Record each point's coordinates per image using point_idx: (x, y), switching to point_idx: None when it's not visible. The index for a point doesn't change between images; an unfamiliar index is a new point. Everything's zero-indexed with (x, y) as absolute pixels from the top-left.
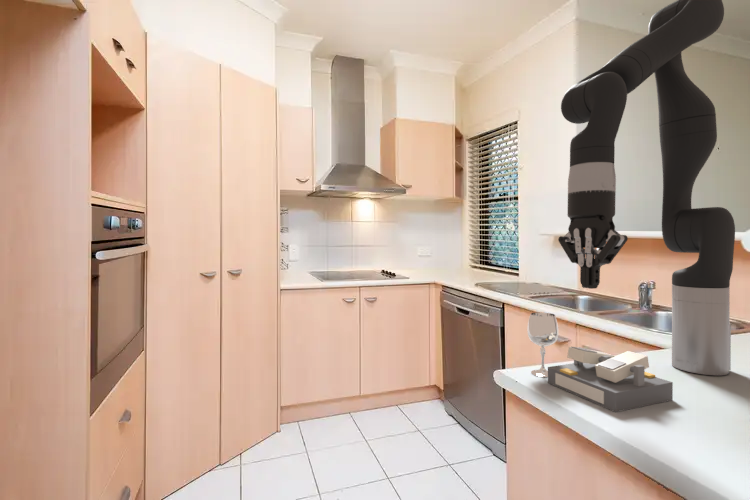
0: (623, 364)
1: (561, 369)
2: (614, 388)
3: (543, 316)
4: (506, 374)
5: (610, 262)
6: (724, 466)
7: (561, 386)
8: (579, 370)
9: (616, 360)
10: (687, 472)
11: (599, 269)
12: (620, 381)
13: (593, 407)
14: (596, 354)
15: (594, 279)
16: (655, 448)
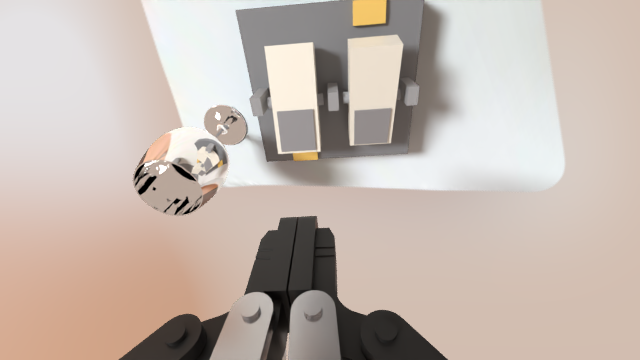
0: (390, 115)
1: (296, 159)
2: (394, 140)
3: (200, 205)
4: None
5: (402, 319)
6: (544, 146)
7: None
8: None
9: (369, 112)
10: (521, 187)
11: (335, 290)
12: None
13: (375, 155)
14: (317, 114)
15: (336, 270)
16: (482, 176)
